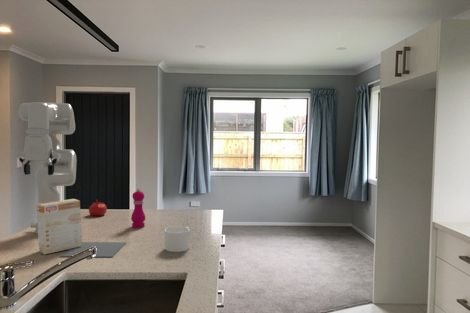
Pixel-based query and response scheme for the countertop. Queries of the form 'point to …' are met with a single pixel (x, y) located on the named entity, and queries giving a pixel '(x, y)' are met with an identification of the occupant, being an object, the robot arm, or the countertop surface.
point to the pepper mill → (138, 210)
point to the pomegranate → (97, 209)
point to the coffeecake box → (59, 225)
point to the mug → (177, 239)
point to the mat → (102, 248)
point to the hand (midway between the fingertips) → (39, 174)
